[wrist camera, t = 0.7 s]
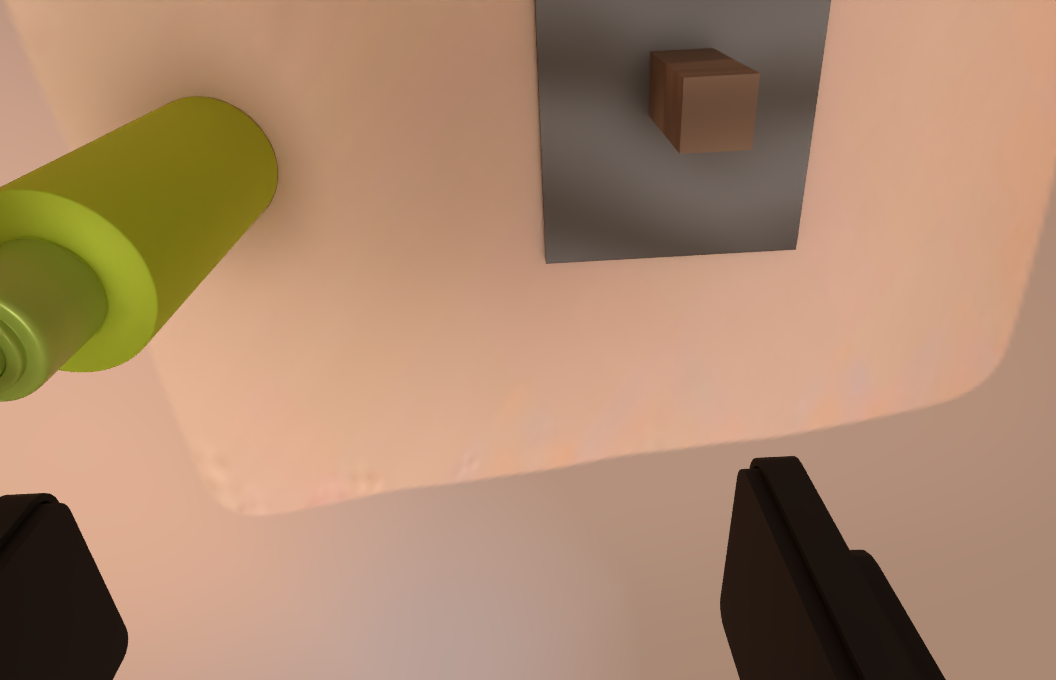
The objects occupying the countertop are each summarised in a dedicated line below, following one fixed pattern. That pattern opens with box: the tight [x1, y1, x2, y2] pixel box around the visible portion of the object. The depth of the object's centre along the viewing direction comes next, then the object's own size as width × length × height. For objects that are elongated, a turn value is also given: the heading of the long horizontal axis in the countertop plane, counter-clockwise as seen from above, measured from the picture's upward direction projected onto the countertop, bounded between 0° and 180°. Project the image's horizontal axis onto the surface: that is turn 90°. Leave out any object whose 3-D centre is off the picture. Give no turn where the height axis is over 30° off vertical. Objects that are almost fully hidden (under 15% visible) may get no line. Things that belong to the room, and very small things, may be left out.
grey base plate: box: [535, 0, 831, 264], centre depth 28 cm, size 16×12×7 cm
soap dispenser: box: [0, 97, 278, 401], centre depth 24 cm, size 6×7×20 cm
